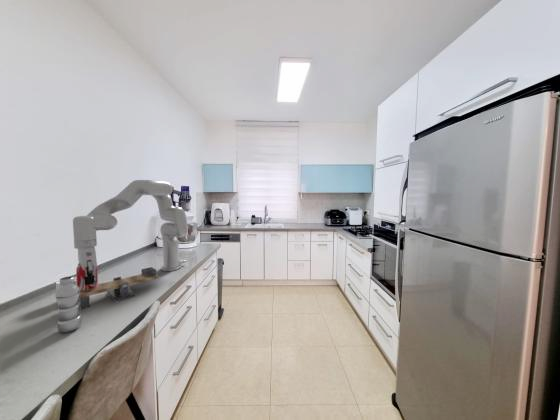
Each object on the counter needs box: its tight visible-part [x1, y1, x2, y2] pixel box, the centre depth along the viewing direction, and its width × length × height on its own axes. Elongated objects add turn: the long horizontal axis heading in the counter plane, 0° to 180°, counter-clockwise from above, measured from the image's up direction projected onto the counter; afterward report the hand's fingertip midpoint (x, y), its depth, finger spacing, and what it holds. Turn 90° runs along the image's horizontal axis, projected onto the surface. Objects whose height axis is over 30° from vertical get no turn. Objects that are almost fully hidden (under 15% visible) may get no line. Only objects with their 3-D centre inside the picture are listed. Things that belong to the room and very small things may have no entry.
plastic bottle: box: [54, 275, 83, 334], centre depth 80 cm, size 6×7×20 cm
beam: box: [79, 266, 159, 298], centre depth 108 cm, size 32×8×4 cm, turn 142°
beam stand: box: [78, 276, 136, 310], centre depth 104 cm, size 20×13×8 cm, turn 142°
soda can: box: [75, 263, 99, 291], centre depth 98 cm, size 7×7×12 cm
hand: (87, 281), depth 98 cm, fingers closed on soda can, 6 cm apart
